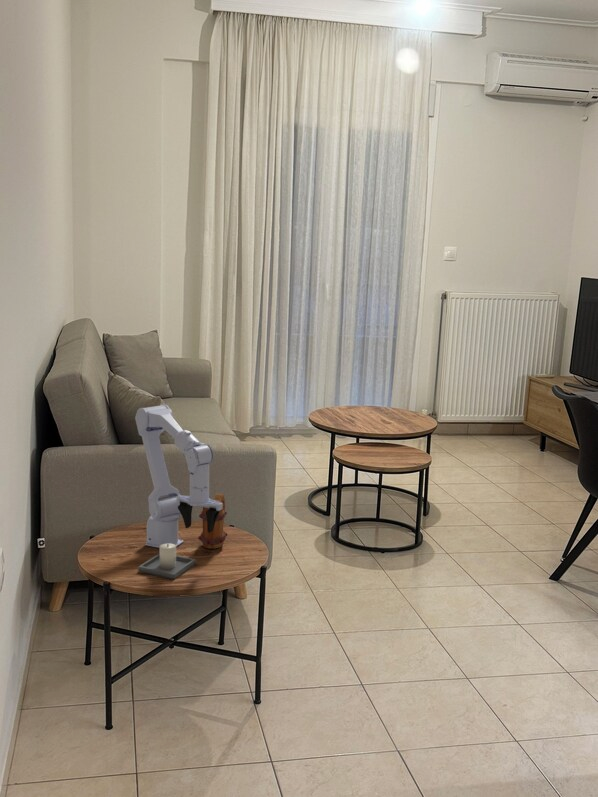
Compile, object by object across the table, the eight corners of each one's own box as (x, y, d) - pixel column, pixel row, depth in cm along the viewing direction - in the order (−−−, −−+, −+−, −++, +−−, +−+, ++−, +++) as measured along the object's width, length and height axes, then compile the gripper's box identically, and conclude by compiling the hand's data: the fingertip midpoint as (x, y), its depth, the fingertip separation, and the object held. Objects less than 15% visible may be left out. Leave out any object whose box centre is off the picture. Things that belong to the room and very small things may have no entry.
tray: (138, 571, 233) (138, 566, 233) (161, 556, 244) (161, 551, 244) (173, 579, 229) (173, 574, 228) (195, 564, 239) (195, 559, 239)
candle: (156, 566, 236) (156, 544, 234) (167, 561, 240) (167, 539, 238) (168, 570, 233) (168, 548, 232) (179, 564, 237) (179, 543, 236)
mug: (220, 553, 248) (221, 507, 245) (195, 550, 250) (195, 504, 247) (234, 536, 262) (234, 492, 259) (210, 533, 264) (210, 489, 261)
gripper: (170, 485, 235) (171, 529, 238) (214, 493, 230) (213, 538, 233) (183, 479, 242) (183, 521, 245) (226, 486, 236) (225, 530, 239)
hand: (199, 529), depth 239 cm, fingers open, 7 cm apart
